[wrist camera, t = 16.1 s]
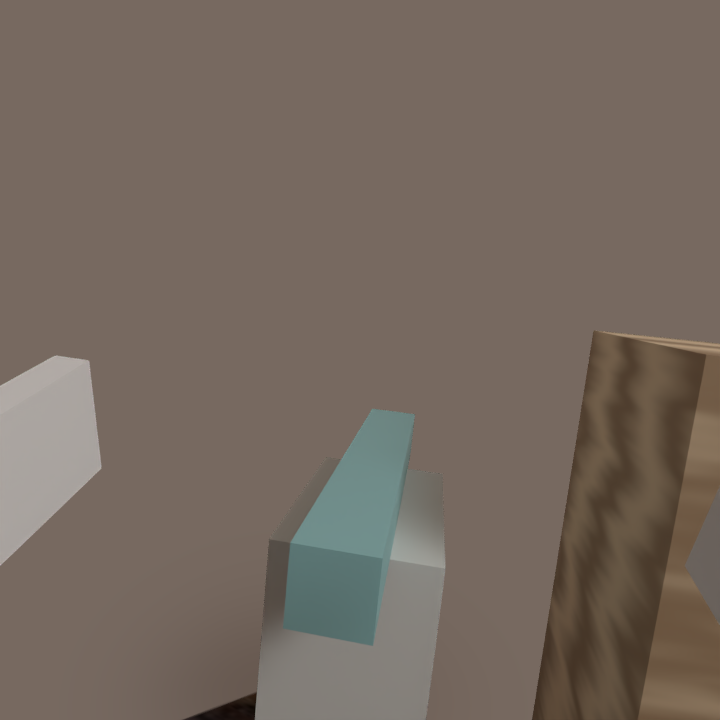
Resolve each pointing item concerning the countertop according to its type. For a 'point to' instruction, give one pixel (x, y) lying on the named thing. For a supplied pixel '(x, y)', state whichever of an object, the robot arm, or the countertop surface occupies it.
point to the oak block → (637, 540)
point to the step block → (393, 633)
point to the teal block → (350, 535)
